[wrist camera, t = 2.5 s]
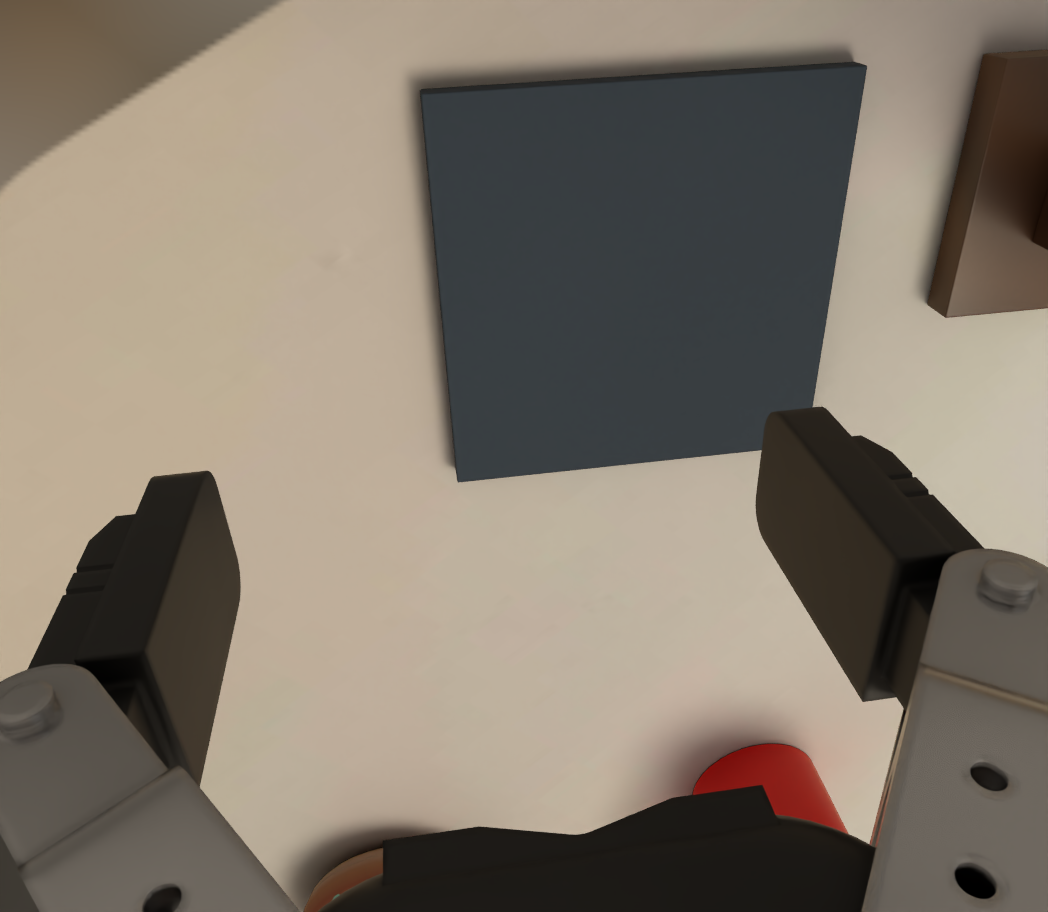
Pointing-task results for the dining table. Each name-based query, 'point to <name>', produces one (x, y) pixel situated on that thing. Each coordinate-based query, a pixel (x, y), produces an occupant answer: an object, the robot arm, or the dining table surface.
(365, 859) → the donut
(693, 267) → the mat
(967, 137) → the brown pedestal stand
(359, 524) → the dining table surface
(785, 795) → the mug
